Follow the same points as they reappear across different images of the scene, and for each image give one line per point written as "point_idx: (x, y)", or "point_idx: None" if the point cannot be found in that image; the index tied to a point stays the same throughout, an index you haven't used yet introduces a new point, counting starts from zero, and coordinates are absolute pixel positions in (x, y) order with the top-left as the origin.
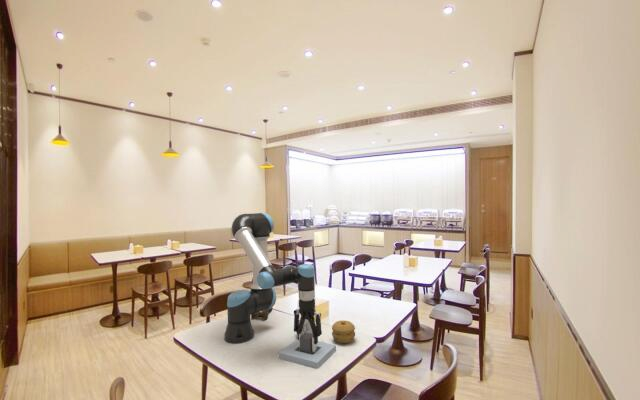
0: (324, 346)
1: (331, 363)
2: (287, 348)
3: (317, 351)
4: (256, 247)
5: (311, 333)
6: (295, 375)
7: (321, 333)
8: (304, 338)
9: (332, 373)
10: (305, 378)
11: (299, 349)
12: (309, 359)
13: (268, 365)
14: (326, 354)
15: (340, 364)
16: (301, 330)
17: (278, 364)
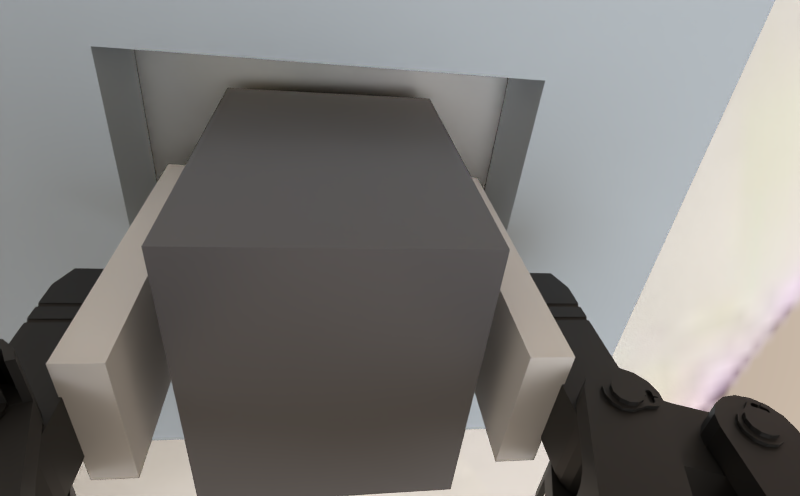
0: (595, 21)
1: (687, 253)
2: (13, 330)
3: (515, 237)
4: None
5: (360, 254)
6: (409, 492)
7: (793, 445)
8: (331, 494)
9: (702, 378)
10: (499, 488)
11: (141, 163)
12: (478, 414)
13: (87, 493)
14: (658, 244)
15: (790, 234)
16: (27, 456)
17: (159, 454)
